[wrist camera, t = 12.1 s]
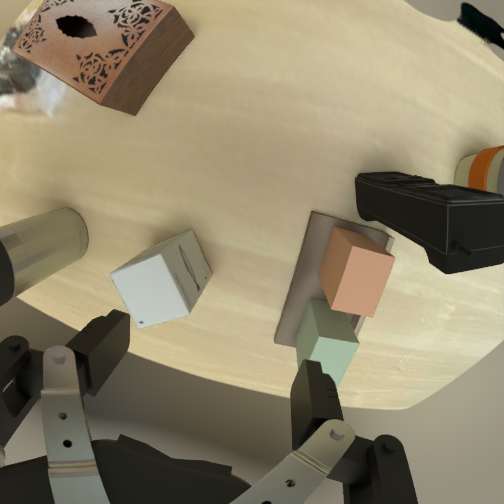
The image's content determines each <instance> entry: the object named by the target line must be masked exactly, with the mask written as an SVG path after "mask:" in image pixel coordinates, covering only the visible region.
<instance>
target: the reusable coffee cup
mask: <svg viewBox="0 0 504 504" xmlns="http://www.w3.org/2000/svg"><path fill="white" fill-rule="evenodd" d="M454 185H458V186H463V187H469V188H474V189H479V190H484V191H489V192H493V193H498V194H502V195H503V196H504V145H503V146H498V147H493V148H489V149H485V150H483V151H481V152H480V153H479V154H475V155H470V156H467V157H465V158H463V159H462V160H461V161H460V163H459V164H458V166H457V169H456V172H455V178H454Z"/></svg>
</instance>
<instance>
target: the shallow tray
mask: <svg viewBox="0 0 504 504" xmlns="http://www.w3.org/2000/svg"><path fill="white" fill-rule="evenodd" d="M333 226H335V227H338V228H342V229H346V230H349V231H353V232H356V233H360V234H364V235H367V236H368V237H370V238H371V239H372V240H374V241H375V242H376V243H377V244H379V245H380V246H381V247H383V248H384V249H385V250H386V251H388V252H389V253H390V251H391V248H392V245H393V242H394V239H395V238H394V237H392V236H390V235H389V234H387V233H386V232H384V231H380V230H377V229H374V228H370V227H367V226H363V225H360V224H357V223H353V222H350V221H346V220H343V219H339V218H335V217H332V216H328V215H324V214H321V213H317V212H313V211H311V215H310V219H309V222H308V226H307V230H306V233H305V237H304V241H303V244H302V248H301V251H300V255H299V258H298V262H297V265H296V269H295V272H294V275H293V279H292V282H291V286H290V289H289V292H288V295H287V299H286V302H285V305H284V309H283V312H282V315H281V318H280V321H279V324H278V328H277V331H276V334H275V337H274V343H276V344H281V345H286V346H291V347H296V342H295V338H296V335H297V332H298V330H299V327H300V324H301V321H302V318H303V316H304V313H305V310H306V307H307V304H308V301H309V298H312V299H316V300H321V301H326V302H328V300H327V297H326V295H325V292H324V290H323V287H322V284H321V282H320V279H319V277H318V274H319V271H320V267H321V264H322V261H323V258H324V254H325V251H326V248H327V244H328V241H329V238H330V234H331V231H332V227H333ZM346 314H347V317H348V319H349V321H350V323H351V325H352V328H353V330H354V332H355V334H356V337H357V336H358V334H359V332H360V329H361V327H362V325H363V322H364V320H365V318H366V316H362V315H357V314H352V313H347V312H346Z"/></svg>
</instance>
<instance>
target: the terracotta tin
mask: <svg viewBox="0 0 504 504" xmlns="http://www.w3.org/2000/svg"><path fill="white" fill-rule="evenodd" d="M394 260H395V257H394V256H393V255H391V254H390V253H389V252H388V251H386V250H385V249H384V248H383V247H381V246H380V245H379V244H377V243H376V242H375V241H374V240H372V239H371V238H370V237H368V236H367V235H364V234H360V233H356V232H353V231H349V230H346V229H342V228H338V227H335V226H333V227H332V231H331V234H330V238H329V241H328V244H327V248H326V251H325V254H324V258H323V261H322V264H321V267H320V271H319V274H318V277H319V279H320V282H321V284H322V287H323V290H324V292H325V295H326V297H327V300H328V303H329V305H330V308H331V309H332V310H337V311H342V312H347V313H352V314H357V315H362V316H367V317H373V315H374V312H375V310H376V308H377V305H378V303H379V300H380V298H381V295H382V293H383V290H384V288H385V285H386V282H387V280H388V277H389V274H390V272H391V269H392V266H393V263H394Z"/></svg>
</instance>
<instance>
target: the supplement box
mask: <svg viewBox="0 0 504 504" xmlns="http://www.w3.org/2000/svg"><path fill="white" fill-rule="evenodd" d="M211 276H212V272H211V270H210V268H209V266H208V264H207V262H206V260H205V258H204V256H203V253H202V251H201V249H200V246H199V244H198V241H197V239H196V236H195V234H194V231H193V229H191V230H189V231H186V232H184V233H182V234H179V235H177V236H174V237H172V238H170V239H167V240H165V241H163V242H160V243H158V244H156V245H154V246H151V247H150V248H148V249H146V250H145V251H143V252H142V253H140V254H139V255H137V256H136V257H134V258H132V259H131V260H130V261H128V262H127V263H125V264H124V265H122V266H121V267H119V268H118V269H116V270H114V271H113V272H111V273H110V277H111V279H112V281H113V283H114V285H115V287H116V289H117V291H118V293H119V295H120V297H121V298H122V300H123V303H124V304H125V306H126V308H127V310H128V312H129V313H130V315H131V317H132V319H133V321H134V322H135V324H136V326H137V328H138V329H139V330H140V329H143V328H146V327H149V326H152V325H156V324H159V323H162V322H166V321H169V320H172V319H176V318H179V317H182V316H186V315H189V314H190V312H191V310H192V309H193V307H194V305H195V303H196V302H197V300H198V298H199V297H200V295H201V293H202V291H203V290H204V288H205V286H206V285H207V283H208V281H209V280H210V278H211Z"/></svg>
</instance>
